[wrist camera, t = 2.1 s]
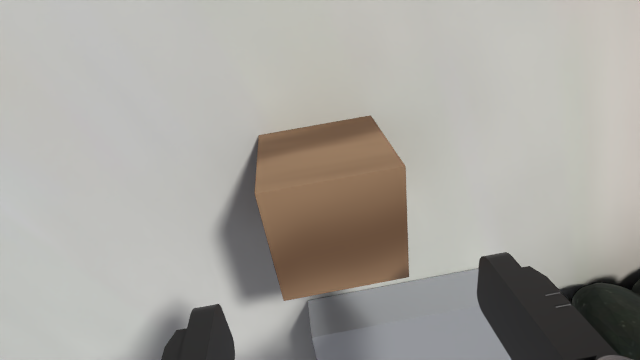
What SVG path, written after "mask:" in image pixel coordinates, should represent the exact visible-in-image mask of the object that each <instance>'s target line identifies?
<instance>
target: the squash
mask: <svg viewBox="0 0 640 360" xmlns="http://www.w3.org/2000/svg"><path fill="white" fill-rule="evenodd" d="M572 306H574V307H575V308H576V309H577V310H578V311H579V312H580V314H581V315H582V316H583V317H584V318H585V319H586V320H587V321H588V322H589V323H590V324H591V326H592V327H593V328H594V329H595V330H596V331H597V332H598V333H599V334H600V335H601V337H602V338H603V339H604V340H605V341H606V342H607V343H608V344H609V345H610V346H611V347H612V349H613V350H614V351H615V352H616V353H617V354H618V355H620V356H623V357H627V358H630V359H633V360H640V280H638V281H637V282H636V283H635V285H634V286H633V288H632V291H631V290H629V289H627V288H624V287H621V286H617V285H614V284H608V283H595V284H592V285H588V286H585V287H582V288H581V289H580V290H578V291H577V292H576V294H575V295H574V297H573V299H572Z"/></svg>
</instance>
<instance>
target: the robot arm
mask: <svg viewBox="0 0 640 360" xmlns="http://www.w3.org/2000/svg"><path fill="white" fill-rule="evenodd" d="M477 299H478V303H479V306H480V309H481V311H482V313H483V315H484V316H485V318H486V319H487V321H488V323H489V324H490V326H491V327H492V329H493V331H494V332H495V334H496V335H497V337H498V339H499V340H500V342H501V343H502V345H503V347H504V348H505V350H506V352H507V353H508V355H509V356H510V358H511V360H633V359H630V358H627V357H623V356H620V355H618V354H617V353H616V352H615V351H614V350H613V349H612V347H611V346H610V345H609V344H608V343H607V342H606V341H605V340H604V339H603V338H602V337H601V335H600V334H599V333H598V332H597V331H596V330H595V329H594V328H593V327H592V326H591V324H590V323H589V322H588V321H587V320H586V319H585V318H584V317H583V316H582V315H581V314H580V312H579V311H578V310H577V309H576V308H575V307H574V306H572V305H571V303H570V301H569V300H568V299H567V298H566V297H565V296H564V295H563V294H561V293H560V291H559V289H558V288H557V287H556V286H555V285H554V284H553V283H552V282H551V281H550V280H549V278H548V277H546V276H545V275H543V274H541V273H540V272H538V271H536V270H535V269H533V268H532V267H530V266H528V267H521V266H520V265H519V264H518V263H517V262H516V260H515V259H514V258H513V257H512V256H511V255H510V254H509V253H507V252H505V253H499V254H494V255H488V256H483V257H481V258H480V261H479V271H478V283H477ZM234 359H235V349H234V341H233V337H232V334H231V332H230V329H229V326H228V324H227V321H226V319H225V316H224V313H223V311H222V308H221V306H220V305H219V304H216V305H210V306H205V307H200V308H194V309H193V310H192V312H191V315H190V319H189V323H188V327H187V329H181V330H176V332H175V333H174V335H173V336H172V338H171V339H170V340H169V342H168V343H167V345H166V346H165V349H164V352H163V355H162V359H161V360H234Z"/></svg>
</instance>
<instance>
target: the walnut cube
mask: <svg viewBox="0 0 640 360" xmlns="http://www.w3.org/2000/svg"><path fill="white" fill-rule="evenodd" d="M255 197H256V201H257V204H258V208H259V212H260V215H261V219H262V223H263V226H264V230H265V234H266V237H267V241H268V245H269V248H270V252H271V256H272V259H273V263H274V267H275V270H276V274H277V278H278V281H279V285H280V288H281V292H282V296H283V299H284V301H286V300H291V299H296V298H302V297H307V296H312V295H317V294H323V293H328V292H333V291H338V290H343V289H349V288H354V287H359V286H364V285H370V284H375V283H380V282H385V281H390V280H396V279H401V278H406V277H409V263H408V232H407V200H406V168H405V165H404V163H403V162H402V161H401V159H400V158H399V156H398V155H397V153H396V152H395V150H394V149H393V147H392V146H391V144H390V143H389V142H388V140H387V139H386V137H385V136H384V134H383V133H382V131H381V130H380V128H379V127H378V125H377V124H376V122H375V121H374V120H373V118H372V117H371V116H365V117H359V118H354V119H348V120H342V121H337V122H331V123H326V124H320V125H314V126H309V127H303V128H297V129H292V130H286V131H280V132H275V133H269V134H264V135H259V139H258V153H257V167H256V182H255Z"/></svg>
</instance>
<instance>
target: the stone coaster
mask: <svg viewBox="0 0 640 360" xmlns="http://www.w3.org/2000/svg"><path fill="white" fill-rule="evenodd" d="M478 271H479V268H478V269H473V270H468V271H462V272H457V273H452V274H447V275H441V276H436V277H431V278H425V279H420V280H415V281H409V282H404V283H399V284H394V285H388V286H383V287H378V288H372V289H367V290H362V291H356V292H351V293H346V294H341V295H335V296H330V297H325V298H319V299H314V300H309V301H308V309H309V318H310V327H311V336H312V341H313V345H314V350H315V354H316V358H317V360H511V358H510V356H509V355H508V353H507V352H506V350H505V348H504V347H503V345H502V343H501V342H500V340H499V339H498V337H497V335H496V334H495V332H494V331H493V329H492V327H491V326H490V324H489V323H488V321H487V319H486V318H485V316H484V315H483V313H482V311H481V309H480V306H479V303H478V299H477V283H478Z"/></svg>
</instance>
